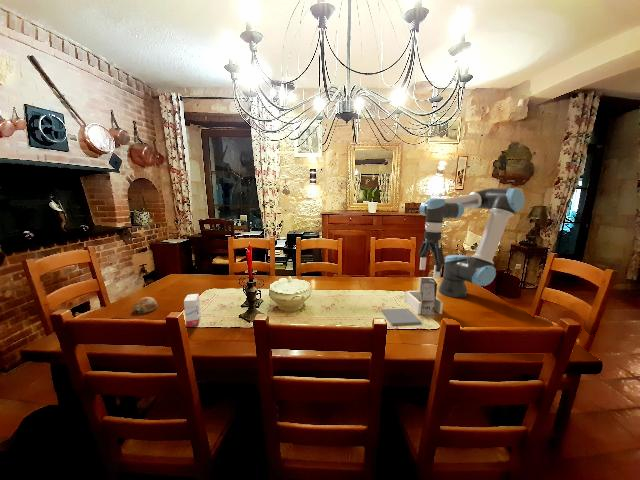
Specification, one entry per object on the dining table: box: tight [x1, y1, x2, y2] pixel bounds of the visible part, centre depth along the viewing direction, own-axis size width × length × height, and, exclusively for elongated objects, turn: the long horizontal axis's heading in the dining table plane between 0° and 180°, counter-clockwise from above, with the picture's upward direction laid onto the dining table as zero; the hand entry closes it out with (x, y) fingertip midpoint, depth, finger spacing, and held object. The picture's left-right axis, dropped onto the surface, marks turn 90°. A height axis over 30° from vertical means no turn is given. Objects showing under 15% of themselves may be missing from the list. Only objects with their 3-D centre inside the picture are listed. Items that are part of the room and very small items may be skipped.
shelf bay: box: [404, 290, 444, 315], centre depth 137 cm, size 12×16×6 cm
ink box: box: [183, 293, 202, 327], centre depth 118 cm, size 9×5×12 cm, turn 16°
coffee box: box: [419, 277, 438, 316], centre depth 132 cm, size 9×6×16 cm
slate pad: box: [381, 308, 422, 326], centre depth 126 cm, size 14×14×1 cm
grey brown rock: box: [132, 296, 159, 314], centre depth 131 cm, size 10×10×8 cm
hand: (428, 273), depth 130 cm, fingers open, 13 cm apart
